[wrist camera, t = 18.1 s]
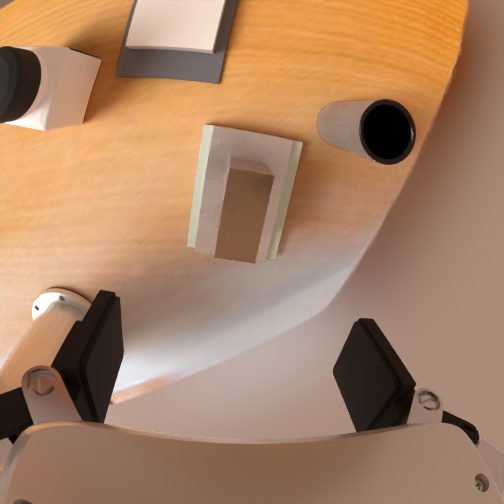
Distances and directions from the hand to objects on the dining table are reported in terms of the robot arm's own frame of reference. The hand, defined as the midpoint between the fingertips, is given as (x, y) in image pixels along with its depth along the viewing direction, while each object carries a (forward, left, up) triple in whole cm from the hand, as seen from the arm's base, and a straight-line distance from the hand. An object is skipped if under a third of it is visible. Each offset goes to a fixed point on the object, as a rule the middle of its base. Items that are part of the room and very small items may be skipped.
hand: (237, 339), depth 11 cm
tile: (+14, +8, -19) cm, 25 cm away
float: (+1, -1, -19) cm, 19 cm away
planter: (+9, -9, -20) cm, 24 cm away
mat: (+17, +8, -20) cm, 27 cm away
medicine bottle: (+10, +19, -20) cm, 29 cm away
